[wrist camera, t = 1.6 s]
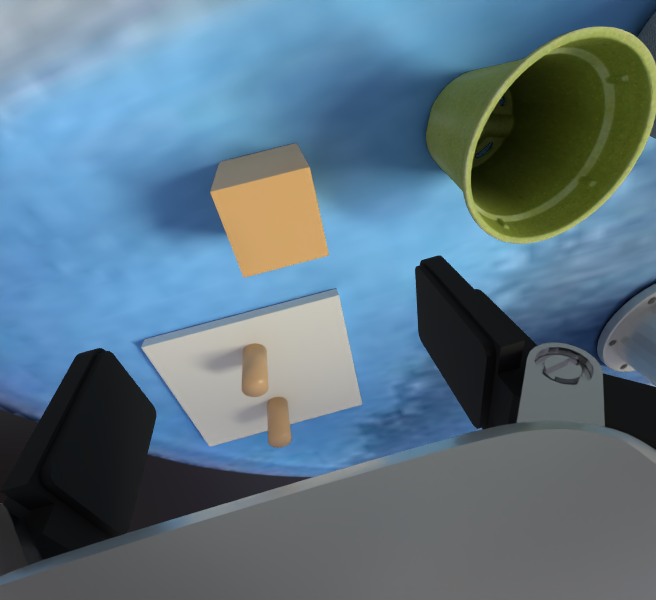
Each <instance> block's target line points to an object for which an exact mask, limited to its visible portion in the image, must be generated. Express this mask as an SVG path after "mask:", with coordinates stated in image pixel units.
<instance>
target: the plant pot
mask: <svg viewBox="0 0 656 600" xmlns="http://www.w3.org/2000/svg"><path fill="white" fill-rule="evenodd" d="M502 96H504V99H505V101H504V105H503V106H501V104H500V102H499V100H500V99H501V97H502ZM655 115H656V65H655V61H654V59H653V57H652V55H651V53H650V51H649V50H648V48H647V47H646V46H645V45H644V44H643V43H642V42H641V41H640V40H639V39H638V38H637V37H635V36H634V35H633V34H631V33H629V32H627V31H624V30H622V29H618V28H614V27H602V26H596V27H588V28H582V29H578V30H574V31H571V32H568V33H566V34H563V35H561V36H558V37H556V38H554V39H552V40H550V41H549V42H547V43H545V44H544V45H542V46H541V47H539V48H537V49H536V50H535V51H533V52H532V53H531V54H529V55H528V56H527V57H525V58H524V59H521V60H517V61H512V62H508V63H504V64H500V65H495V66H490V67H485V68H481V69H477V70H473V71H469V72H466V73H464V74H462V75H460V76H459V77H457V78H455V79H454V80H453V81H451V82H450V83H449V84H448V85H447V86H446V87H445V88H444V89H443V90H442V91H441V93H440V94H439V95H438V97H437V98H436V100H435V102H434V104H433V106H432V108H431V111H430V117H429V121H428V127H427V132H426V143H427V147H428V150H429V153H430V155H431V157H432V158H433V160H434V161H435V162H436V163H437V164H438V165H439V166H440V167H441V169H442V170H443V171H444V172H445V173H446V174H447V175H448V176H449V177H450V178H451V179H452V180H453V181H454V182H455V183H456V184H457V186H458V187H459V188H460V189H461V190H462V191H463V194H464V198H465V202H466V205H467V208H468V210H469V212H470V214H471V216H472V218H473V219H474V221H475V222H476V223H477V224H478V225H479V227H480V228H481V229H483V230H484V231H485V232H486V233H487V234H489V235H490V236H492V237H494V238H496V239H498V240H501V241H504V242H510V243H519V244H523V243H532V242H538V241H543V240H546V239H548V238H552V237H554V236H556V235H559V234H561V233H563V232H565V231H567V230H569V229H570V228H572V227H574V226H576V225H577V224H578V223H580V222H581V221H582V220H584V219H586V218H587V217H588V216H589V215H591V214H592V213H593V212H595V211H596V210H597V209H598V208H599V207H600V206H601V205H603V204H604V203H605V202H606V201H607V200H608V199H609V198H610V196H611V195H612V194H613V193H614V192H615V191H616V189H617V188H618V187H619V186H620V185H621V184H622V182H623V181H624V179H625V178H626V177H627V176H628V174H629V173H630V171H631V170H632V168H633V167H634V165H635V163H636V161H637V159H638V158H639V156H640V155H641V153H642V151H643V149H644V148H645V145H646V142H647V140H648V138H649V136H650V133H651V130H652V127H653V123H654V120H655ZM491 142H492V143H493V144H492V147H491V148H490V149H489V151H488V152H487V153H485V154H484V155H483V156H481V157H479V158H476V157H475V156H476V154H478V153H479V152H480V151H482V150H483V149H484V148H485V147H487V145H488V144H489V143H491Z"/></svg>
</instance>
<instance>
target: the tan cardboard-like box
mask: <svg viewBox="0 0 656 600" xmlns="http://www.w3.org/2000/svg"><path fill="white" fill-rule="evenodd" d="M210 193H211V196H212V198H213V201H214V203H215V206H216V208H217V211H218V213H219V216H220V218H221V221H222V224H223V226H224V229H225V231H226V234H227V236H228V239H229V241H230V244H231V246H232V249H233V251H234V254H235V257H236V259H237V262H238V264H239V267H240V269H241V272H242V274H243V277H248V276H252V275H256V274H259V273H263V272H267V271H271V270H275V269H279V268H282V267H286V266H290V265H294V264H298V263H301V262H305V261H309V260H313V259H317V258H321V257H324V256H328V255H329V253H328V248H327V244H326V239H325V234H324V230H323V225H322V221H321V216H320V211H319V207H318V202H317V198H316V193H315V188H314V184H313V179H312V175H311V170H310V166H309V164H308V163H307V161H306V159H305V157H304V155H303V154H302V152H301V150H300V148H299V146H298V144H297V143H294V144H290V145H286V146H282V147H278V148H274V149H270V150H266V151H262V152H258V153H254V154H250V155H246V156H242V157H238V158H234V159H230V160H226V161H221V162H219V165H218V168H217V171H216V175H215V178H214V181H213V184H212V187H211V191H210Z"/></svg>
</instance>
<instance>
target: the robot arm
mask: <svg viewBox="0 0 656 600" xmlns="http://www.w3.org/2000/svg"><path fill="white" fill-rule="evenodd" d="M415 275H416V294H417V313H418V331H419V336H420V339H421V342H422V343H423V345H424V347H425V348H426V350H427V351H428V353H429V355H430V356H431V358H432V359H433V361H434V363H435V364H436V366H437V367H438V369H439V371H440V372H441V374H442V376H443V377H444V379H445V380H446V382H447V384H448V385H449V387H450V388H451V390H452V392H453V393H454V395H455V396H456V398H457V400H458V401H459V403H460V404H461V406H462V408H463V409H464V411H465V412H466V414H467V416H468V417H469V419H470V421H471V422H472V424H473V425H474V426H475V427H476V428H477V429H478V428H482V429H483V430H479V431H474V432H470V433H467V434H463V435H459V436H456V437H452V438H448V439H445V440H441V441H437V442H434V443H430V444H427V445H423V446H419V447H416V448H412V449H409V450H405V451H402V452H398V453H395V454H392V455H388V456H385V457H381V458H378V459H374V460H371V461H368V462H364V463H361V464H357V465H354V466H351V467H347V468H344V469H340V470H337V471H333V472H330V473H327V474H323V475H320V476H316V477H313V478H310V479H306V480H303V481H300V482H297V483H293V484H290V485H286V486H283V487H279V488H276V489H273V490H269V491H266V492H263V493H259V494H256V495H253V496H250V497H246V498H243V499H239V500H236V501H233V502H229V503H226V504H223V505H219V506H216V507H212V508H209V509H206V510H203V511H199V512H196V513H193V514H189V515H186V516H183V517H179V518H176V519H173V520H170V521H167V522H163V523H160V524H156V525H153V526H150V527H147V528H143V529H140V530H137V531H133V532H130V533H127V534H125V533H126V532H127V530H128V529H129V527H130V523H131V519H132V515H133V511H134V507H135V502H136V498H137V494H138V490H139V486H140V481H141V478H142V473H143V470H144V465H145V461H146V457H147V453H148V449H149V445H150V441H151V437H152V433H153V428H154V424H155V420H156V410H155V408H154V406H153V405H152V403H151V402H150V401H149V400H148V398H147V397H146V396H145V394H144V393H143V392H142V391H141V389H140V388H139V387H138V385H137V384H136V383H135V381H134V380H133V379H132V378H131V376H130V375H129V374H128V372H127V371H126V370H125V369H124V367H123V366H122V365H121V363H120V362H119V361H118V360H117V358H116V357H115V356H114V354H113V353H112V352H110V351H105V350H104V349H102V348H98V349H94V350H90V351H87V352H83V353H80V354H78V355H77V356H76V357H75V359H74V361H73V362H72V364H71V366H70V368H69V369H68V371H67V373H66V375H65V377H64V378H63V380H62V382H61V384H60V386H59V387H58V389H57V391H56V393H55V394H54V396H53V398H52V400H51V402H50V403H49V405H48V407H47V409H46V411H45V412H44V414H43V416H42V418H41V419H40V421H39V423H38V425H37V427H36V429H35V430H34V432H33V434H32V435H31V437H30V439H29V441H28V443H27V444H26V446H25V448H24V450H23V452H22V453H21V455H20V457H19V459H18V461H17V462H16V464H15V466H14V468H13V469H12V471H11V473H10V475H9V477H8V479H7V480H6V482H5V484H4V486H3V487H2V489H1V491H0V492H2V493H3V494H5V495H7V498H6V500H5V501H4V503H3V504H0V600H656V387H654V386H650V385H646V384H642V383H638V382H634V381H630V380H626V379H622V378H619V377H615V376H611V375H607V374H603V372H602V369H601V365H600V364H599V363H598V361H597V360H596V359H595V358H594V357H593V356H592V355H590V354H589V353H588V352H586V351H584V350H582V349H580V348H578V347H576V346H572V345H569V344H565V343H554V342H553V343H544V344H541V345H538V346H537V345H536V344H535V343H534V342H533V341H532V340H531V339H530V338H529V337H528V336H527V335H526V334H525V333H524V332H523V331H522V330H521V329H520V328H519V327H518V326H517V325H516V324H515V323H514V322H513V321H512V320H511V319H510V318H509V317H508V316H507V315H506V314H505V313H504V312H503V311H502V310H501V309H500V308H499V307H498V306H497V305H496V304H495V303H494V302H493V301H492V300H491V299H490V298H489V297H487V296H486V295H485V294H484V293H483V292H482V291H481V290H478V289H475V290H474V289H473V288H472V287H471V285H470V284H469V283H468V282H467V281H466V280H465V279H464V278H463V277H462V276H461V275H460V274H459V273H458V272H457V271H456V270H455V269H454V268H453V267H452V266H451V265H450V264H449V263H448V262H447V261H446V260H445V259H444V258H443V257H442V256H435V257H431V258H428V259H424V260H422V261H421V262H420V266H417V267H416V268H415ZM597 353H598V356H599V358H600V360H601V361H602V362H603V363H604V364H605V365H607V366H608V367H609V368H611V369H613V370H616V371H635V370H636V371H637V372H639V373H640V374H641V375H642V376H643V377H645V378H646V379H647V380H648V381H650V382H651V383H652V384H653V385H655V386H656V283H655V284H654V285H652V286H650V287H648V288H646V289H644V290H643V291H642V292H640V293H639V294H637V295H636V296H634V297H633V298H632V299H630V300H629V301H628V302H627V303H626V304H624V305H623V306H622V307H621V308H620V309H619V310H618V311H617V312H616V313H615V314H614V315H613V317H612V318H611V319H610V320H609V322H608V323H607V324H606V326H605V328H604V329H603V331H602V333H601V335H600V338H599V340H598V346H597Z"/></svg>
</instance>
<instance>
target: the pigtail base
mask: <svg viewBox="0 0 656 600" xmlns="http://www.w3.org/2000/svg"><path fill="white" fill-rule="evenodd" d="M141 348H142V349H143V351H144V352H145V354H146V355H147V357H148V358H149V359H150V361H151V362H152V364H153V365H154V367H155V368H156V370H157V371H158V372H159V374H160V375H161V377H162V378H163V380H164V381H165V383H166V384H167V386H168V387H169V388H170V390H171V391H172V393H173V394H174V396H175V397H176V399H177V400H178V401H179V403H180V404H181V406H182V407H183V409H184V410H185V412H186V413H187V414H188V416H189V417H190V419H191V420H192V422H193V423H194V425H195V426H196V428H197V429H198V430H199V432H200V433H201V435H202V436H203V438H204V439H205V441H206V442H207V443H208V445H209V446H210V447H211V446H215V445H218V444H222V443H225V442H229V441H233V440H236V439H240V438H243V437H247V436H251V435H254V434H258V433H261V432H265V431H268V443H269V445H271V446H272V447H277V448H279V447H284V446H286V445H288V444H289V443H290V442H291V440H292V438H291V429H290V424H294V423H297V422H301V421H305V420H308V419H312V418H315V417H319V416H323V415H326V414H330V413H333V412H337V411H341V410H344V409H348V408H351V407H355V406H359V405H362V401H361V396H360V391H359V387H358V382H357V377H356V373H355V368H354V363H353V359H352V354H351V350H350V345H349V340H348V336H347V331H346V326H345V322H344V317H343V312H342V308H341V303H340V298H339V294H338V292H337V289H333V290H329V291H325V292H321V293H317V294H314V295H310V296H306V297H302V298H299V299H295V300H291V301H287V302H284V303H280V304H276V305H272V306H268V307H265V308H261V309H257V310H253V311H250V312H246V313H242V314H238V315H234V316H231V317H227V318H223V319H219V320H216V321H212V322H208V323H204V324H200V325H197V326H193V327H189V328H185V329H182V330H178V331H174V332H170V333H166V334H163V335H159V336H155V337H151V338H148V339H144V342H143V344H142V347H141Z"/></svg>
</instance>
